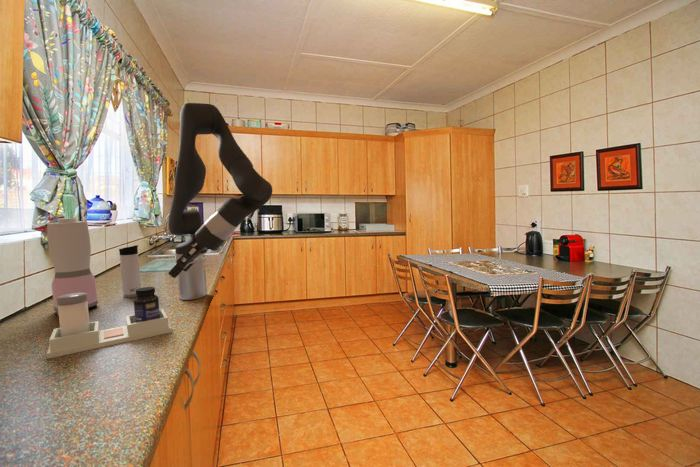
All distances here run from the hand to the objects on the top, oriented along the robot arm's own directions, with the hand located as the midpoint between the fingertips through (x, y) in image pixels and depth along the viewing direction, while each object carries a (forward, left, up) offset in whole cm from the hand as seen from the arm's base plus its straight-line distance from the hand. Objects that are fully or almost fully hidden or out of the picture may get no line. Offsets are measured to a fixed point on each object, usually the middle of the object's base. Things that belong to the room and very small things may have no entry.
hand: (177, 272), depth 101 cm
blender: (-6, -53, -17) cm, 56 cm away
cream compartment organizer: (+11, -13, -16) cm, 24 cm away
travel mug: (-24, -49, -17) cm, 57 cm away
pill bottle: (+4, -8, -15) cm, 18 cm away
